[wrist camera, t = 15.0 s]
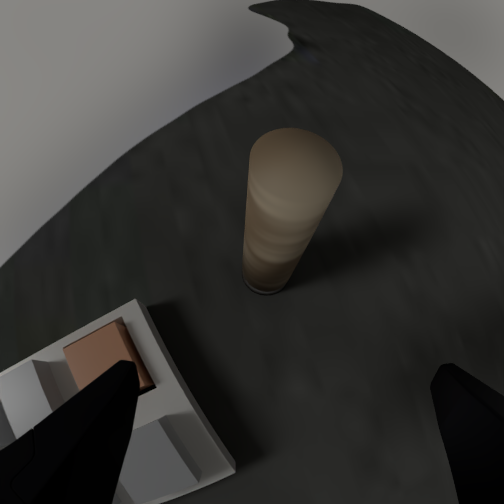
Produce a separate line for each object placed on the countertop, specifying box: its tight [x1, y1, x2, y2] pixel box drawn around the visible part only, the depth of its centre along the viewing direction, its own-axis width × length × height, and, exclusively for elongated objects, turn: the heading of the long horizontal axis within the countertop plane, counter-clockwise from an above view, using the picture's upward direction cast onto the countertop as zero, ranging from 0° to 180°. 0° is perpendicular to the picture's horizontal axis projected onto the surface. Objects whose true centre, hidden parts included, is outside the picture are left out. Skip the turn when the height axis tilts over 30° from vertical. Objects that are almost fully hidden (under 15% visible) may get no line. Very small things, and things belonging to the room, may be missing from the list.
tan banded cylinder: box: [242, 128, 343, 295], centre depth 17 cm, size 4×4×13 cm
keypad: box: [0, 299, 236, 504], centre depth 15 cm, size 13×21×5 cm, turn 120°
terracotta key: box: [63, 322, 155, 391], centre depth 18 cm, size 4×4×3 cm
